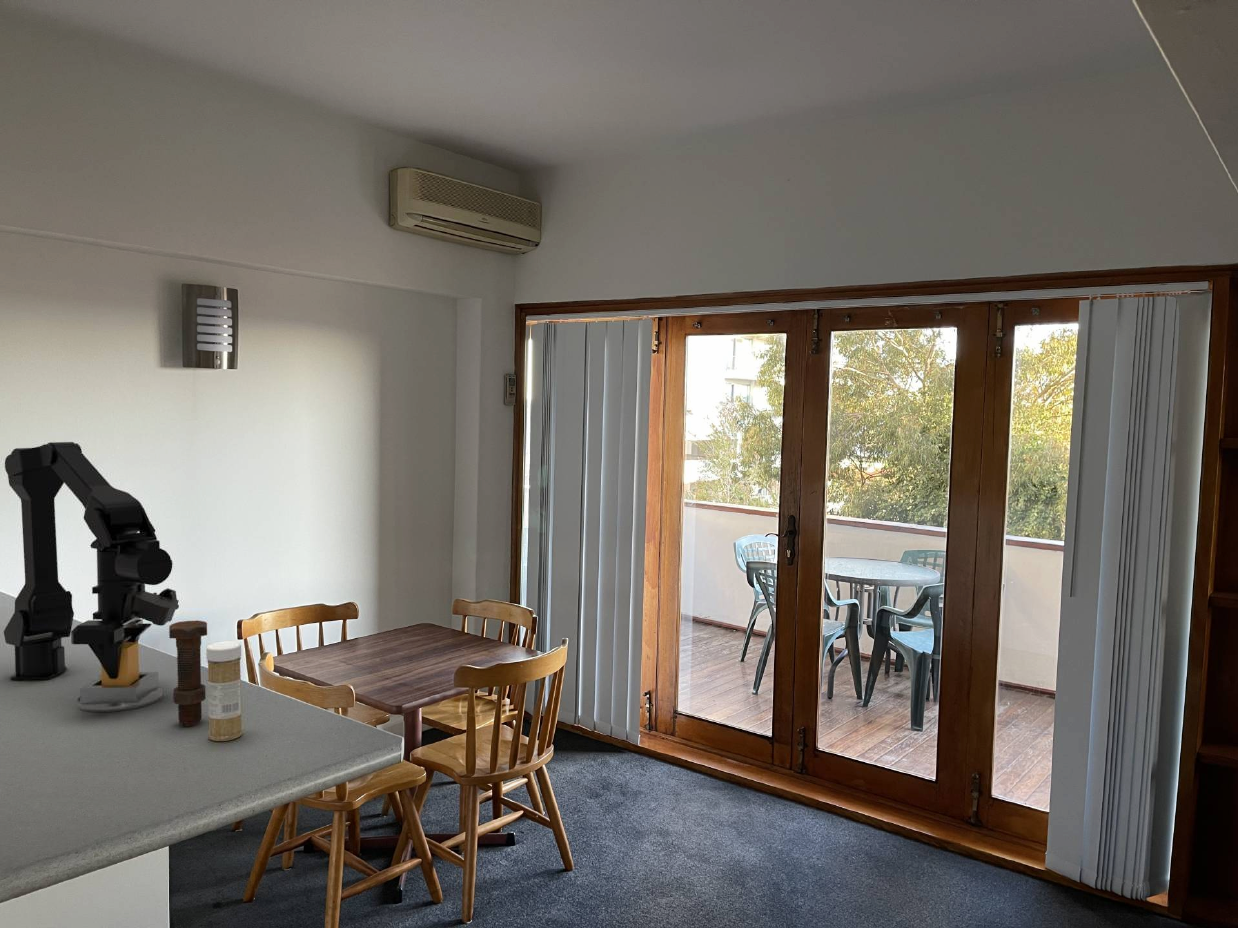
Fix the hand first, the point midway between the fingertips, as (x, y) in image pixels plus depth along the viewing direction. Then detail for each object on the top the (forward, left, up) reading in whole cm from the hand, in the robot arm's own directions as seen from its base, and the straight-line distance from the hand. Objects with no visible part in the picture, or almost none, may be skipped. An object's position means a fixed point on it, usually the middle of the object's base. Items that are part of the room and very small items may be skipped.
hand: (119, 674), depth 148 cm
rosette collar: (0, 0, -4) cm, 4 cm away
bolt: (+15, -12, -4) cm, 20 cm away
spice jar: (+22, -18, -4) cm, 29 cm away
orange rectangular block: (0, 0, -1) cm, 1 cm away
